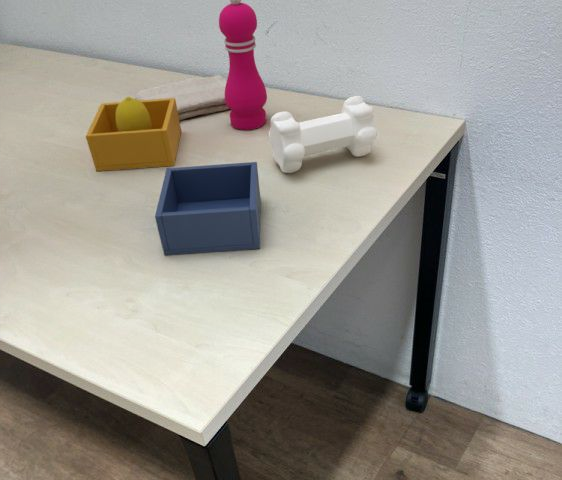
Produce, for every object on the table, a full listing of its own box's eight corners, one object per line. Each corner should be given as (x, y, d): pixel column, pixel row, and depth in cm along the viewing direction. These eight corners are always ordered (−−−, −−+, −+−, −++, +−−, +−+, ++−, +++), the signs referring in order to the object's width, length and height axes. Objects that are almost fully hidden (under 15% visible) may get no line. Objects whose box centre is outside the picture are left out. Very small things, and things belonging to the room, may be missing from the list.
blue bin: (164, 255, 80) (154, 216, 75) (174, 205, 88) (166, 168, 84) (260, 249, 79) (255, 209, 75) (260, 199, 88) (256, 161, 84)
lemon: (134, 157, 98) (122, 107, 93) (116, 147, 101) (103, 98, 96) (162, 145, 101) (152, 95, 95) (144, 135, 104) (133, 87, 98)
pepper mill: (253, 110, 110) (241, -18, 96) (277, 122, 106) (267, -10, 92) (220, 122, 108) (202, -7, 93) (242, 135, 103) (227, 1, 89)
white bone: (355, 139, 99) (356, 87, 94) (378, 161, 94) (381, 108, 88) (268, 158, 97) (264, 107, 91) (287, 183, 91) (283, 129, 85)
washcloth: (246, 106, 112) (245, 89, 109) (152, 129, 107) (148, 111, 105) (225, 85, 119) (223, 69, 117) (136, 106, 115) (132, 89, 113)
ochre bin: (96, 171, 98) (85, 136, 93) (110, 137, 106) (100, 103, 102) (173, 165, 97) (166, 130, 93) (181, 131, 106) (175, 97, 102)
